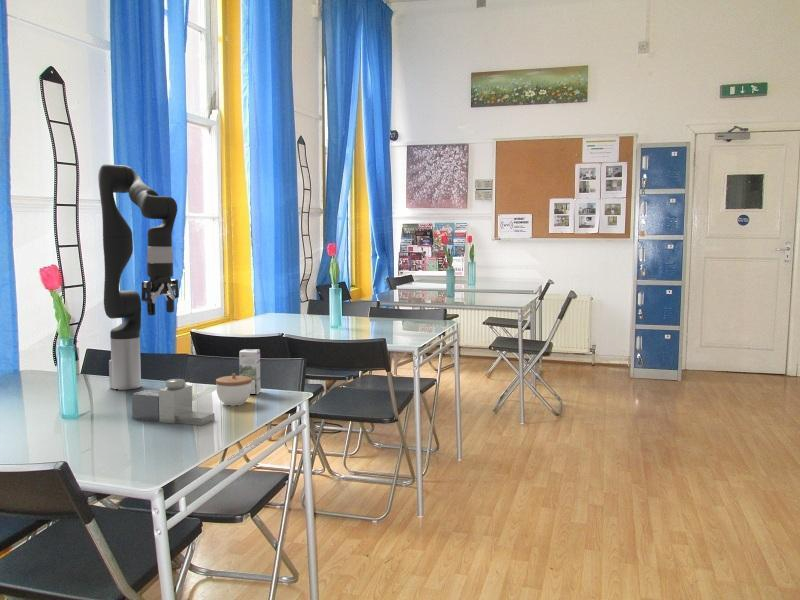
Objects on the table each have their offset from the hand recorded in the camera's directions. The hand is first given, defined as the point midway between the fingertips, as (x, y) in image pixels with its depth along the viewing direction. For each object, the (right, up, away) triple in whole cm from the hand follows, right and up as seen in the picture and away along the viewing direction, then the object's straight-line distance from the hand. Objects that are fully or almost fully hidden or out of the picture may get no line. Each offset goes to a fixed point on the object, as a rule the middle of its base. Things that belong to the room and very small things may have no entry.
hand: (160, 313), depth 209 cm
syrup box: (+25, -27, +13) cm, 39 cm away
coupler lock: (+4, -29, -18) cm, 34 cm away
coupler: (+11, -29, -20) cm, 37 cm away
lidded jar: (+23, -28, -1) cm, 36 cm away
